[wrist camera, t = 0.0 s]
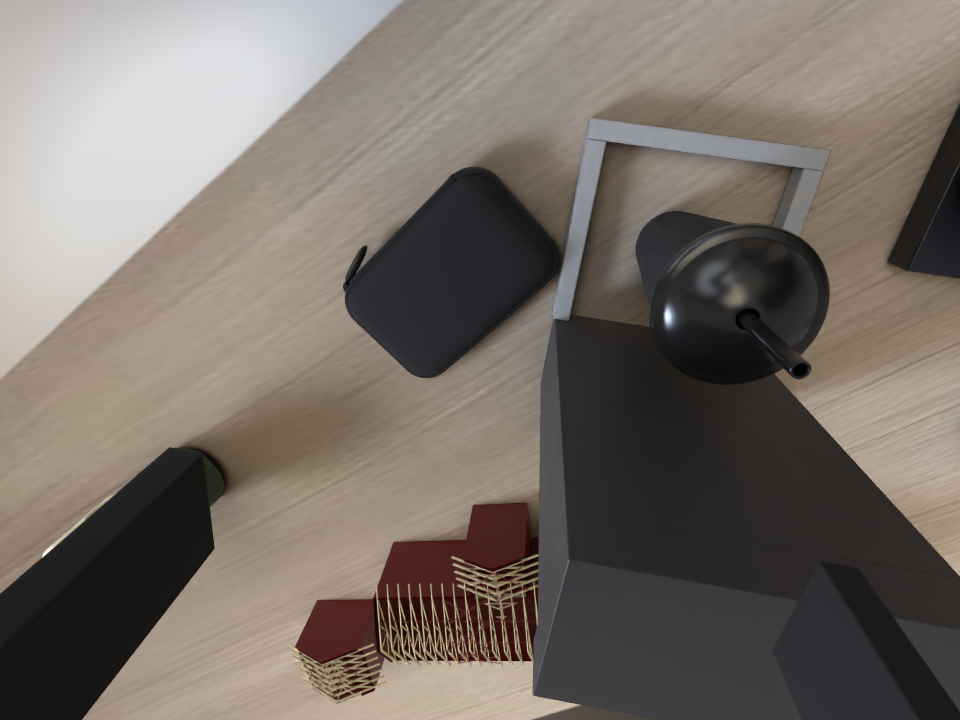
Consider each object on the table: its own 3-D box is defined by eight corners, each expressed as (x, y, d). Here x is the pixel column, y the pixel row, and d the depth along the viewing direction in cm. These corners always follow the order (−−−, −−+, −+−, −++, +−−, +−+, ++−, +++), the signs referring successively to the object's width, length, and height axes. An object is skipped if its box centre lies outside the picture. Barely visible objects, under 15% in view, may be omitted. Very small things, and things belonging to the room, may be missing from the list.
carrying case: (466, 138, 35) (330, 283, 40) (459, 139, 32) (314, 295, 37) (571, 256, 37) (429, 378, 42) (573, 266, 34) (421, 395, 40)
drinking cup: (744, 193, 34) (969, 272, 16) (714, 304, 37) (874, 474, 19) (625, 183, 35) (714, 249, 17) (606, 294, 38) (663, 450, 20)
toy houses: (778, 492, 43) (841, 591, 34) (761, 662, 51) (808, 780, 42) (274, 513, 50) (214, 600, 41) (329, 660, 58) (289, 760, 49)
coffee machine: (589, 117, 33) (678, 107, 11) (819, 149, 33) (1390, 203, 11) (536, 393, 42) (527, 695, 20) (717, 423, 41) (918, 770, 19)
